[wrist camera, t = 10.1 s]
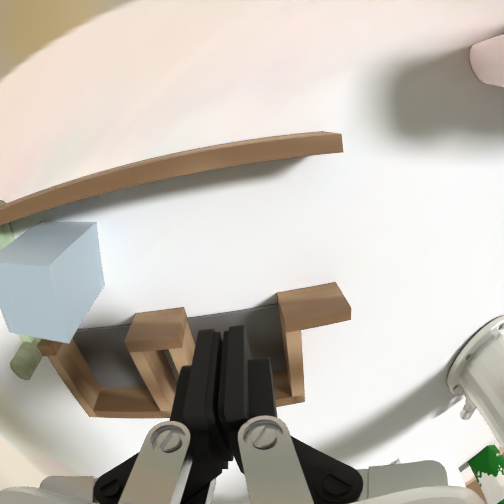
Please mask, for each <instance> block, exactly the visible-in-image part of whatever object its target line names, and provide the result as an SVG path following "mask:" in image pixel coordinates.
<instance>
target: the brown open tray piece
mask: <svg viewBox="0 0 504 504" xmlns="http://www.w3.org/2000/svg"><path fill="white" fill-rule="evenodd" d="M340 152H343V145H342V134H338V133H331V132H323V131H321V132H310V133H299V134H290V135H281V136H273V137H266V138H258V139H251V140H245V141H238V142H232V143H226V144H220V145H214V146H209V147H203V148H198V149H193V150H188V151H183V152H178V153H173V154H169V155H164V156H160V157H155V158H151V159H147V160H143V161H139V162H135V163H131V164H127V165H123V166H119V167H116V168H112V169H108V170H105V171H101V172H98V173H94V174H91V175H88V176H84V177H81V178H78V179H75V180H71V181H68V182H65V183H62V184H59V185H56V186H53V187H50V188H47V189H45V190H42V191H39V192H36V193H33V194H31V195H28V196H25V197H23V198H20V199H17V200H15V201H12V202H10V203H7V204H6V203H5V202H4V201H2V200H0V251H1V250H2V249H3V248H5V247H6V246H7V245H9V244H10V243H11V242H13V241H14V240H15V239H14V237H13V234H12V231H11V228H10V224H9V222H11V221H14V220H17V219H20V218H23V217H26V216H29V215H32V214H35V213H38V212H41V211H44V210H48V209H51V208H54V207H57V206H61V205H64V204H67V203H71V202H74V201H78V200H81V199H85V198H89V197H92V196H96V195H100V194H104V193H107V192H111V191H115V190H119V189H123V188H127V187H132V186H136V185H140V184H144V183H149V182H153V181H158V180H163V179H167V178H172V177H177V176H182V175H187V174H192V173H197V172H202V171H208V170H213V169H219V168H225V167H231V166H237V165H243V164H250V163H256V162H263V161H270V160H278V159H285V158H293V157H302V156H310V155H320V154H330V153H340ZM277 297H278V304H275V305H269V306H263V307H257V308H251V309H245V310H238V311H232V312H225V313H218V314H211V315H204V316H197V317H189V318H187V316H186V312H185V309H184V307H181V308H174V309H166V310H159V311H151V312H143V313H136V314H135V316H134V318H133V321H132V323H131V325H121V326H111V327H100V328H89V329H77V331H76V332H75V334H74V336H73V338H72V339H71V341H70V343H64V342H58V341H52V340H47V339H42V338H36V337H32V336H27V335H22V334H19V336H20V338H21V339H22V341H23V345H22V346H21V348H20V349H19V351H18V352H17V354H16V355H15V356H14V358H13V360H12V361H11V363H10V367H11V369H12V370H13V372H14V373H15V374H16V375H17V376H18V377H20V378H22V379H24V380H29V379H30V377H31V375H32V374H33V372H34V370H35V368H36V367H37V365H38V363H39V362H40V360H41V358H42V357H43V356H48V358H49V360H50V361H51V363H52V364H53V366H54V368H55V369H56V371H57V372H58V374H59V375H60V377H61V378H62V380H63V381H64V383H65V384H66V386H67V387H68V389H69V390H70V391H71V393H72V394H73V396H74V397H75V398H76V400H77V401H78V402H79V404H80V405H81V406H82V408H83V409H84V410H85V412H86V413H87V414H88V416H89V417H104V418H170V416H171V412H172V407H173V402H174V397H175V393H176V388H177V382H176V380H175V378H174V376H173V373H172V371H171V369H170V367H169V364H168V362H167V360H166V358H165V355H164V353H163V350H165V349H169V352H170V354H171V357H172V359H173V362H174V364H175V366H176V369H177V371H178V373H179V374H180V370H181V367H182V366H187V365H192V360H193V355H194V350H195V345H196V340H197V335H198V331H199V330H203V329H212V328H214V330H215V332H220V333H221V336H222V340H223V334H224V331H229V326H237V325H244V326H245V329H246V334H247V339H248V344H249V349H250V354H251V358H252V359H258V358H265V357H269V358H270V364H271V370H272V376H273V384H274V392H275V401H276V407H279V406H285V405H290V404H296V403H301V402H305V393H304V374H303V356H302V340H301V330H304V329H309V328H314V327H319V326H324V325H329V324H334V323H338V322H343V321H347V320H351V307H350V305H349V303H348V302H347V300H346V298H345V297H344V295H343V294H342V292H341V290H340V289H339V287H338V285H337V284H336V282H334V283H329V284H323V285H318V286H313V287H307V288H302V289H296V290H290V291H285V292H279V293H277Z"/></svg>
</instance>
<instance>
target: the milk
mask: <svg viewBox="0 0 504 504" xmlns="http://www.w3.org/2000/svg"><path fill="white" fill-rule="evenodd" d="M423 460H435V461H437V462H440V463H441V464H442V465H443V466H444V467H445V470H446V472H447V478H448V486H460V487H465V488H466V486H465V484H464V482H463V479H462V477H461V474H460V472H459V470H458V467H457V465H456V463H455V460H454V458H453V456H452V453H451V451H450V449H449V447H448V445H447V443H445V444H442V445H439V446H437V447H434V448H431V449H428V450H425V451H422V452H419V453H415V454H412V455H409V456H405V457H402V458H399V459H398V460H397V461H396V462H395V463H394V464H402V463H410V462H417V461H423ZM394 464H393V465H394Z"/></svg>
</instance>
